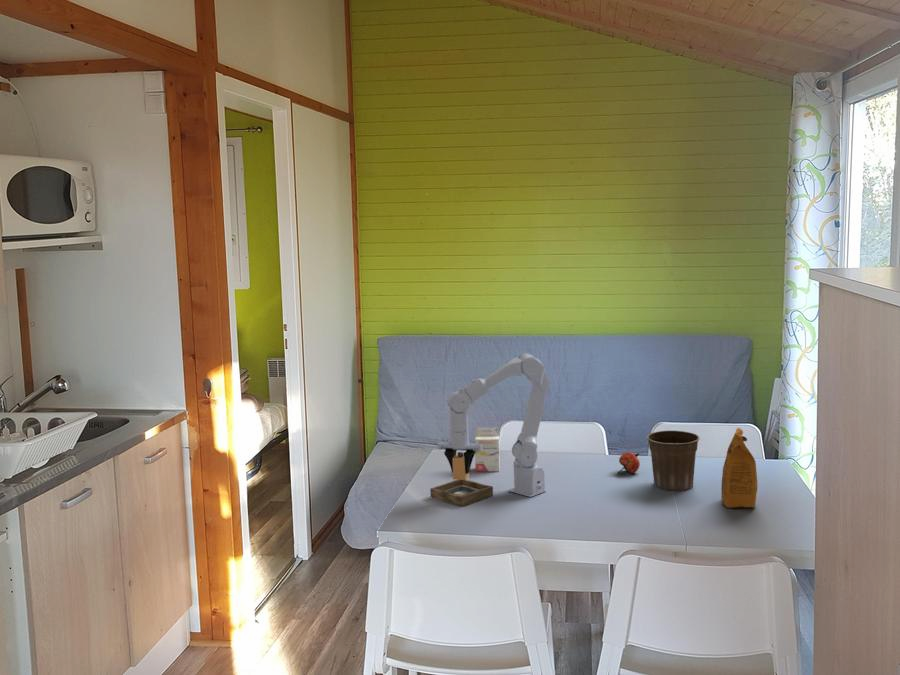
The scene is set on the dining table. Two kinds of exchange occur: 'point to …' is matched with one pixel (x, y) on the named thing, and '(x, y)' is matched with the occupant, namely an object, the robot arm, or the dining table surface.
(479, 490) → the walled box
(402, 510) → the dining table surface
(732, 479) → the coffee package
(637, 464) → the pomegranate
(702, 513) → the dining table surface
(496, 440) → the ink cartridge box
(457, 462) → the tan tall block
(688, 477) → the plant pot
